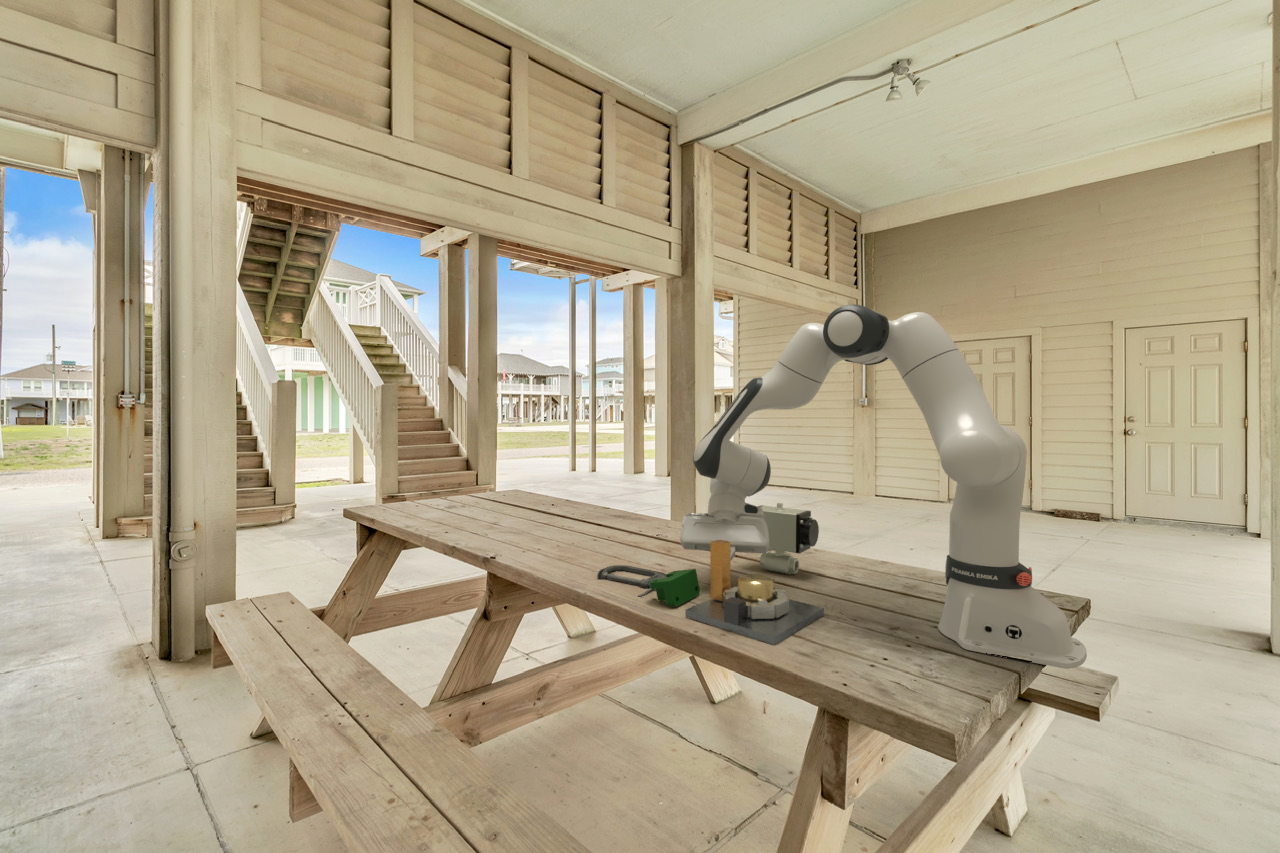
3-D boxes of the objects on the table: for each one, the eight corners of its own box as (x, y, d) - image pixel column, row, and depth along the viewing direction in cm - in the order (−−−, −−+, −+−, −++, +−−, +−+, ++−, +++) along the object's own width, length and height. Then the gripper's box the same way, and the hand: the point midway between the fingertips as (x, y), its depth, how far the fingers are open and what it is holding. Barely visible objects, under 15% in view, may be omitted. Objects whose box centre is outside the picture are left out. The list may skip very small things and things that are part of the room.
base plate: (824, 615, 117) (824, 578, 117) (774, 645, 102) (774, 603, 102) (740, 593, 130) (740, 560, 130) (685, 617, 116) (685, 580, 115)
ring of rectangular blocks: (797, 606, 117) (798, 548, 116) (766, 623, 107) (766, 560, 107) (730, 589, 127) (731, 535, 127) (696, 603, 118) (697, 545, 118)
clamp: (677, 612, 131) (677, 572, 134) (699, 611, 127) (699, 570, 131) (646, 605, 122) (647, 562, 126) (669, 604, 119) (670, 560, 122)
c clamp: (684, 581, 141) (684, 570, 141) (640, 600, 127) (640, 588, 127) (622, 567, 154) (622, 557, 153) (575, 582, 140) (575, 571, 140)
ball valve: (820, 573, 146) (821, 504, 145) (808, 582, 139) (808, 509, 138) (755, 562, 157) (756, 497, 156) (741, 569, 150) (741, 501, 149)
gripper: (681, 505, 137) (675, 556, 128) (769, 508, 133) (769, 561, 123) (684, 520, 142) (678, 570, 132) (769, 523, 137) (769, 576, 128)
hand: (722, 566), depth 128 cm, fingers closed
